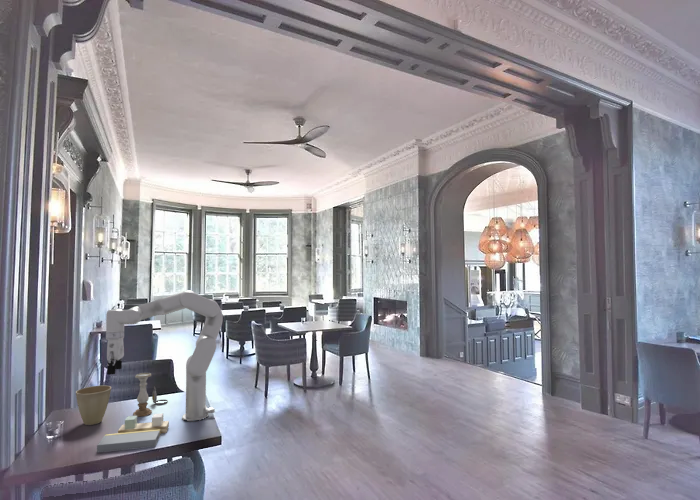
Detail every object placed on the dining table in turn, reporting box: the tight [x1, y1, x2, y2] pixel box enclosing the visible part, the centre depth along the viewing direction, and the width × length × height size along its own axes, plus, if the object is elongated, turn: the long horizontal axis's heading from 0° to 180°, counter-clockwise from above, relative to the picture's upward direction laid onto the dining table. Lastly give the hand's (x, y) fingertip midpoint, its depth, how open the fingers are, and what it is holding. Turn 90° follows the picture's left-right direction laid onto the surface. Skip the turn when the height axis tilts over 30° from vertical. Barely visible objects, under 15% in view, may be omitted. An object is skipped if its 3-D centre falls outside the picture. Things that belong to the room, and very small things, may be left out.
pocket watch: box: [151, 386, 168, 405], centre depth 230 cm, size 8×8×10 cm
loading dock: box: [96, 429, 161, 453], centre depth 177 cm, size 22×11×3 cm, turn 105°
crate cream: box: [151, 413, 164, 427], centre depth 191 cm, size 4×5×4 cm
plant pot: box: [75, 385, 112, 426], centre depth 202 cm, size 15×15×16 cm
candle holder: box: [132, 372, 153, 418], centre depth 213 cm, size 9×9×20 cm
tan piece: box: [117, 420, 170, 435], centre depth 189 cm, size 20×7×4 cm, turn 105°
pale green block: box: [124, 415, 138, 429], centre depth 188 cm, size 4×5×4 cm
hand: (114, 371), depth 195 cm, fingers open, 9 cm apart
